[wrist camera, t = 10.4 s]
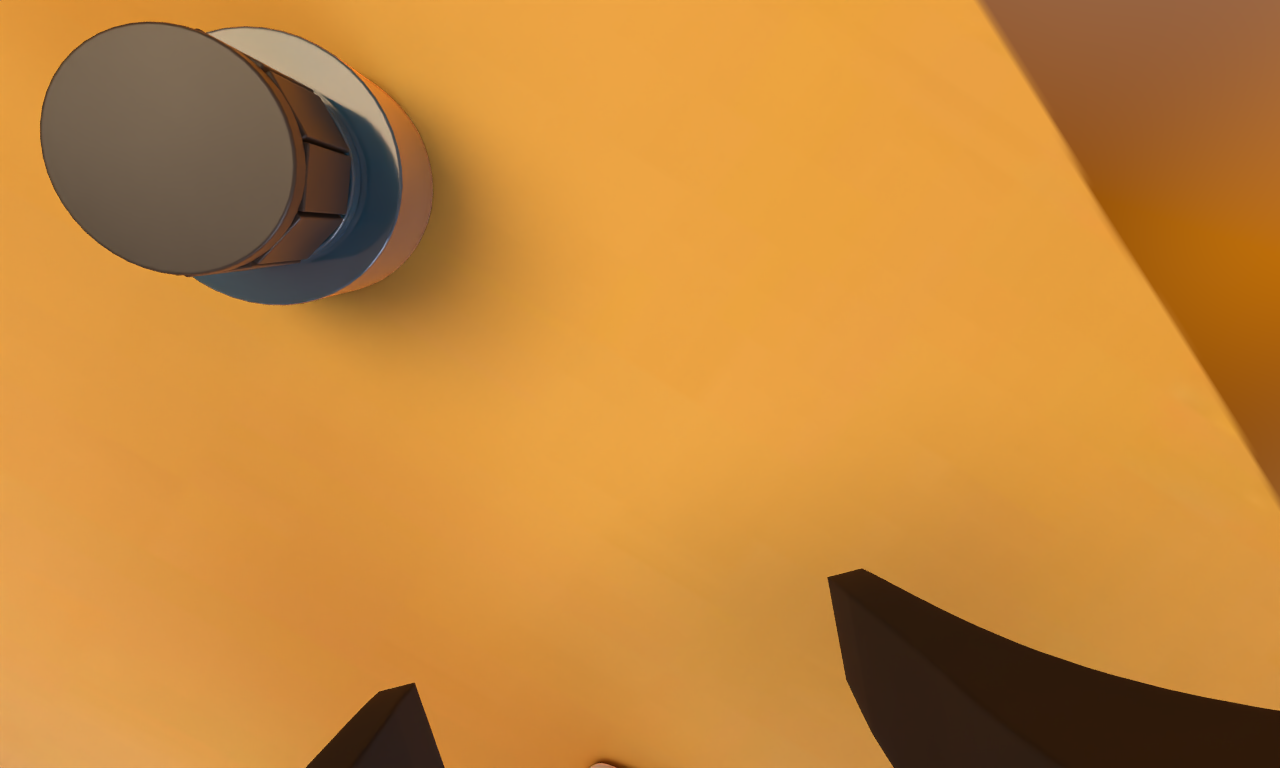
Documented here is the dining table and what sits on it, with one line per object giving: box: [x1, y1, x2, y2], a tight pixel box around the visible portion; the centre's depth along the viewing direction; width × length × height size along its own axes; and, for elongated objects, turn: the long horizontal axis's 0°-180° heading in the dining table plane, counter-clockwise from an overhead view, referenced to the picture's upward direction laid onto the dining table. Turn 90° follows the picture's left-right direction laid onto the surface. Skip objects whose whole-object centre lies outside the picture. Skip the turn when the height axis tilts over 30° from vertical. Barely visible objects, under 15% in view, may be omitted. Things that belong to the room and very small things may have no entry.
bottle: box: [193, 26, 433, 305], centre depth 16 cm, size 6×6×6 cm
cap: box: [40, 22, 351, 277], centre depth 13 cm, size 4×4×3 cm
